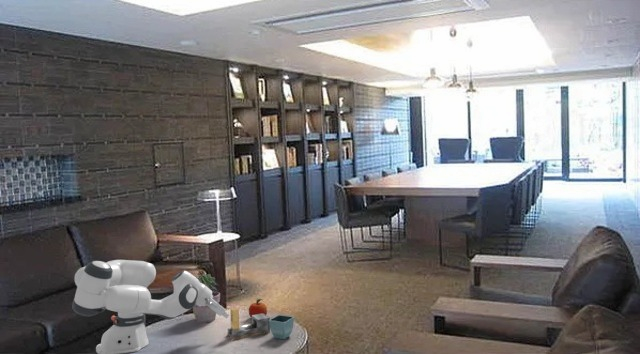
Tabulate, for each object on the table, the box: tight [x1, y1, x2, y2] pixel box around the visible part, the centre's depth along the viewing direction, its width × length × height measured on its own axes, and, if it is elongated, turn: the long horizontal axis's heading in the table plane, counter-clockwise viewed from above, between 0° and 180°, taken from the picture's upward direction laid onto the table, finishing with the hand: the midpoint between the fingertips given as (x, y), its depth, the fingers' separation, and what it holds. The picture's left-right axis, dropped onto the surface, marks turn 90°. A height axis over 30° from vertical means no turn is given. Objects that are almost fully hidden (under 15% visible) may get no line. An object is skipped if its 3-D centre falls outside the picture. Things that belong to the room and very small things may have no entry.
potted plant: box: [192, 269, 221, 323], centre depth 286 cm, size 18×20×25 cm
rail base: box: [227, 313, 271, 341], centre depth 265 cm, size 18×8×7 cm, turn 119°
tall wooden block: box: [230, 307, 253, 332], centre depth 263 cm, size 10×3×12 cm, turn 119°
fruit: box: [248, 298, 268, 319], centre depth 286 cm, size 10×10×10 cm
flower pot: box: [269, 314, 295, 340], centre depth 259 cm, size 9×9×9 cm
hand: (224, 314), depth 258 cm, fingers open, 8 cm apart
